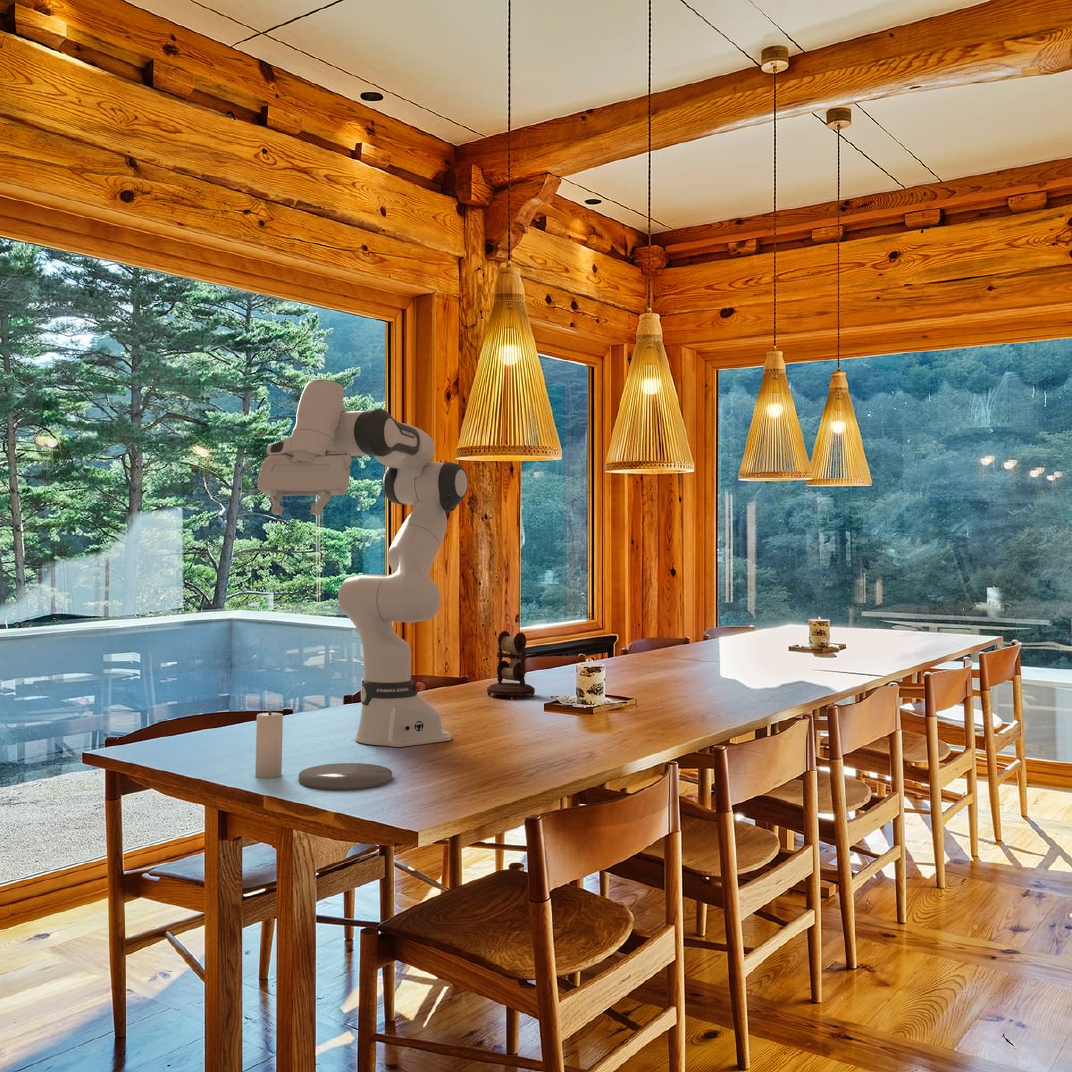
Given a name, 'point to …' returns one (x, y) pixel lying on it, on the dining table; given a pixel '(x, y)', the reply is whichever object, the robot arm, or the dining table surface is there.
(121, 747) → the dining table surface
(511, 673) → the double spool stand
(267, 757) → the candle
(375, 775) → the plate
